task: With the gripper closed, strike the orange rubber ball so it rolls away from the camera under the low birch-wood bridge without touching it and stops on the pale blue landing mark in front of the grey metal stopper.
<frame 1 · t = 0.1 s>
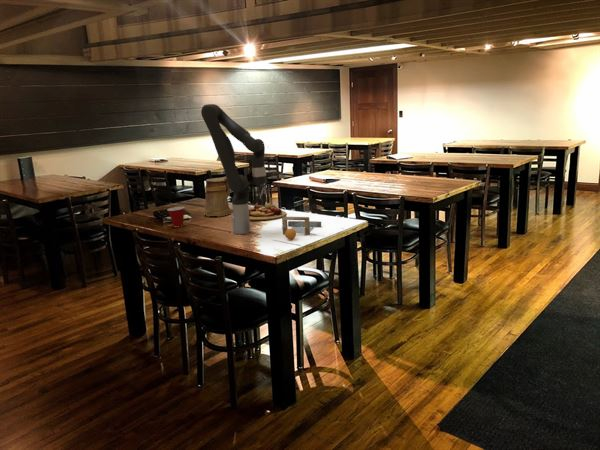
hand: (262, 203, 283), 17 cm above the table, tool pointing down, fingers open, 8 cm apart
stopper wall: (304, 226, 297), on the table
plastic cup: (178, 226, 314), on the table
landing mark: (300, 230, 289), on the table
ball: (290, 234, 270), on the table
tankard: (220, 214, 345), on the table
bridge: (296, 234, 281), on the table
wooden plate with food: (262, 217, 332), on the table
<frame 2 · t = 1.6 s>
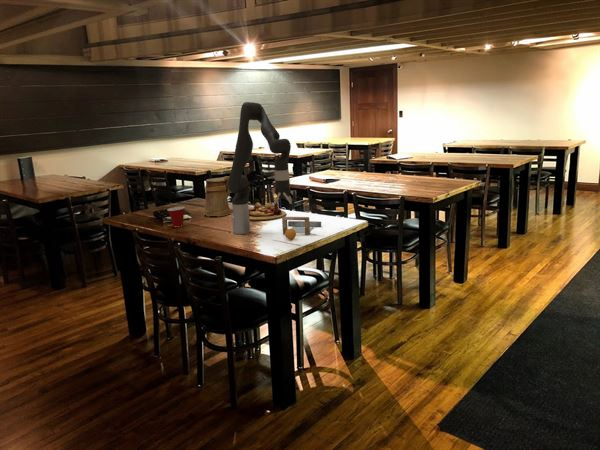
hand: (284, 210, 257), 18 cm above the table, tool pointing down, fingers open, 7 cm apart
nothing on the table moved.
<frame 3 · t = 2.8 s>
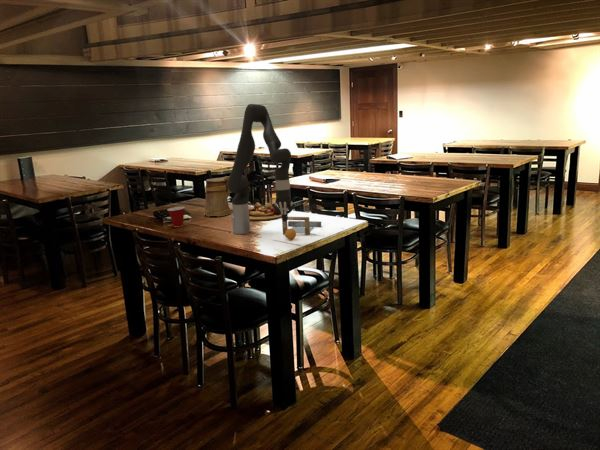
hand: (284, 221, 259), 12 cm above the table, tool pointing down, fingers closed
nothing on the table moved.
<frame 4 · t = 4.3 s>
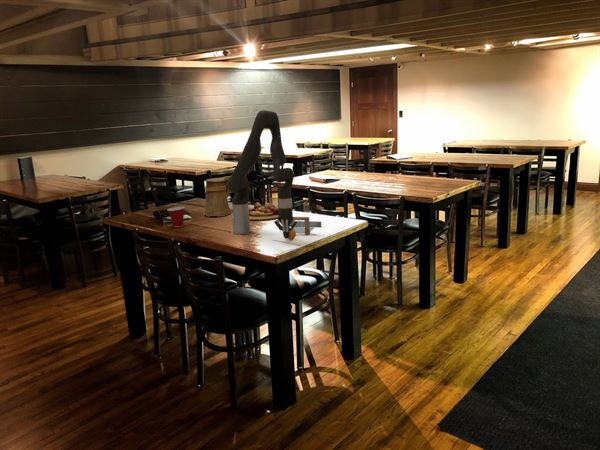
hand: (286, 238, 265), 2 cm above the table, tool pointing down, fingers closed
nothing on the table moved.
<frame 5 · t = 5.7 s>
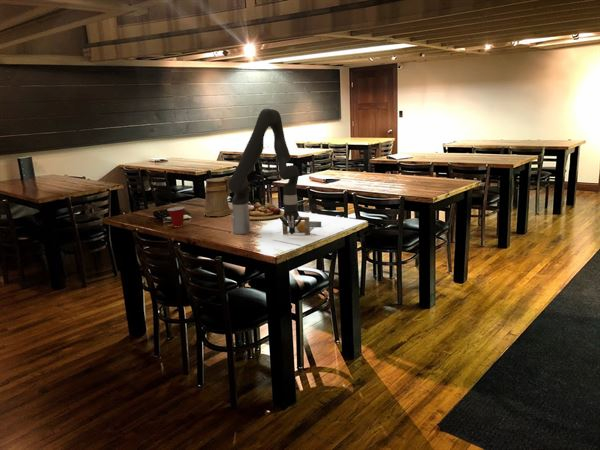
hand: (292, 233, 273), 2 cm above the table, tool pointing down, fingers closed
ball: (301, 226, 285), on the table
everything else where it was.
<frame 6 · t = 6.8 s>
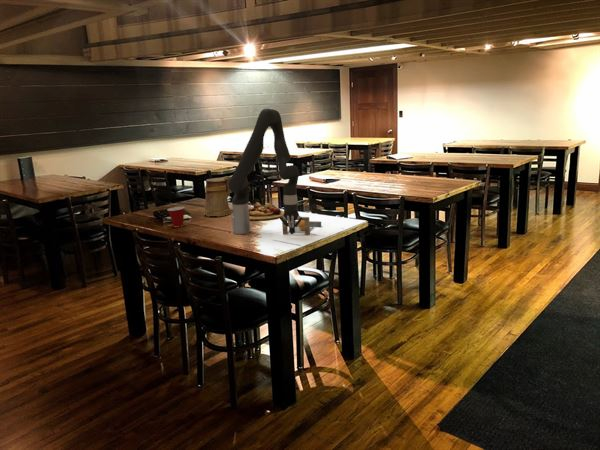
hand: (292, 233, 273), 2 cm above the table, tool pointing down, fingers closed
ball: (303, 225, 288), on the table
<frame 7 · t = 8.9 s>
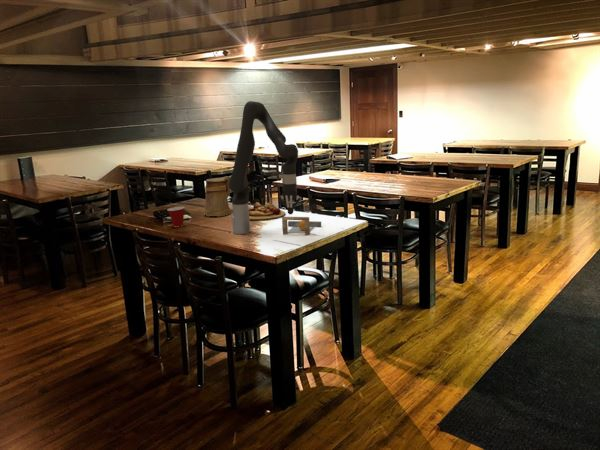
hand: (290, 214, 270), 13 cm above the table, tool pointing down, fingers closed
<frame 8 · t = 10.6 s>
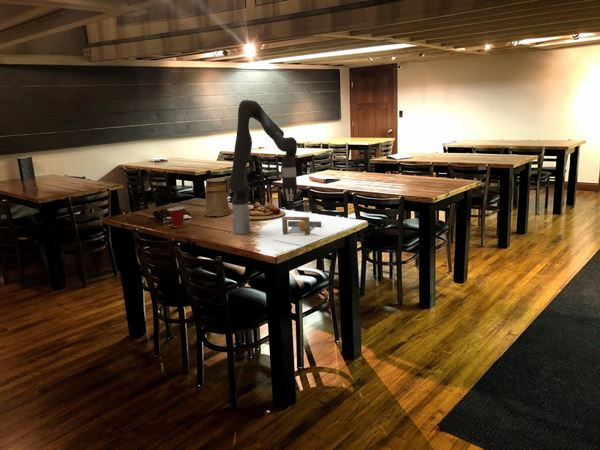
hand: (290, 207, 269), 17 cm above the table, tool pointing down, fingers closed
at the end: ball 1.9 cm from the landing mark (horizontally); ball never touched bridge; ball at rest at the end (0.0 cm/s) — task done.
